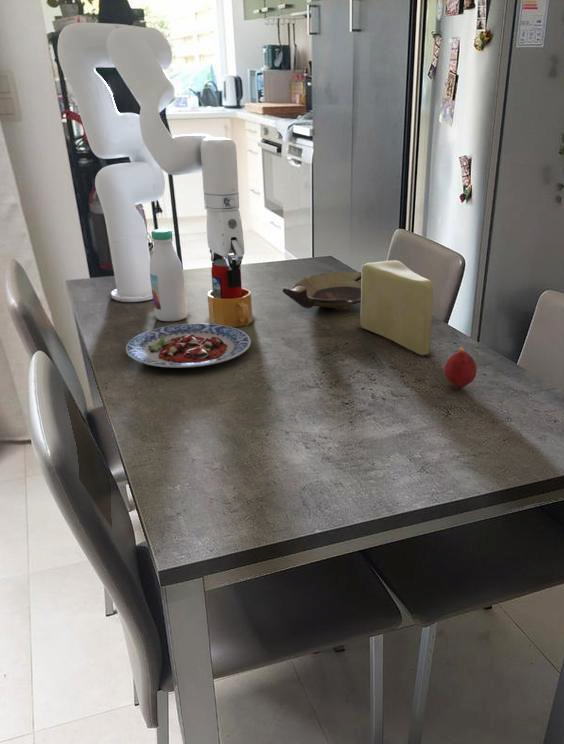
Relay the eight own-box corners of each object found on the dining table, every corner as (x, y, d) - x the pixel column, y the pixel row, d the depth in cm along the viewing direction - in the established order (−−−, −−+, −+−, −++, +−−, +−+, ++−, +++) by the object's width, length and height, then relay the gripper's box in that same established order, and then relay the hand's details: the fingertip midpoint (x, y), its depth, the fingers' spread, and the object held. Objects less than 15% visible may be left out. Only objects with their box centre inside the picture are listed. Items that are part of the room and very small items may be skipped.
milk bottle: (191, 312, 170) (182, 227, 160) (183, 322, 164) (173, 234, 153) (161, 311, 171) (150, 226, 161) (151, 321, 164) (139, 233, 154)
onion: (476, 384, 132) (481, 344, 128) (471, 396, 128) (476, 355, 124) (446, 380, 134) (449, 341, 130) (440, 392, 129) (443, 351, 125)
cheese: (446, 352, 147) (452, 281, 139) (406, 359, 143) (410, 287, 135) (395, 322, 164) (398, 257, 156) (358, 327, 160) (360, 261, 153)
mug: (203, 318, 167) (200, 291, 163) (240, 311, 171) (239, 284, 168) (228, 334, 157) (226, 305, 154) (267, 326, 162) (265, 298, 158)
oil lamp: (401, 307, 173) (402, 277, 169) (292, 326, 162) (290, 293, 158) (357, 286, 190) (358, 257, 186) (256, 300, 179) (254, 270, 175)
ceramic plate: (273, 342, 152) (272, 329, 150) (207, 385, 132) (206, 370, 131) (176, 326, 161) (174, 313, 160) (100, 364, 141) (98, 350, 140)
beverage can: (215, 308, 167) (211, 257, 161) (243, 308, 168) (240, 257, 162) (213, 317, 162) (209, 265, 155) (242, 317, 162) (239, 265, 156)
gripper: (255, 206, 147) (258, 290, 157) (220, 193, 160) (225, 271, 169) (223, 209, 144) (228, 295, 153) (189, 196, 156) (196, 276, 165)
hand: (226, 282), depth 161 cm, fingers closed on beverage can, 6 cm apart
